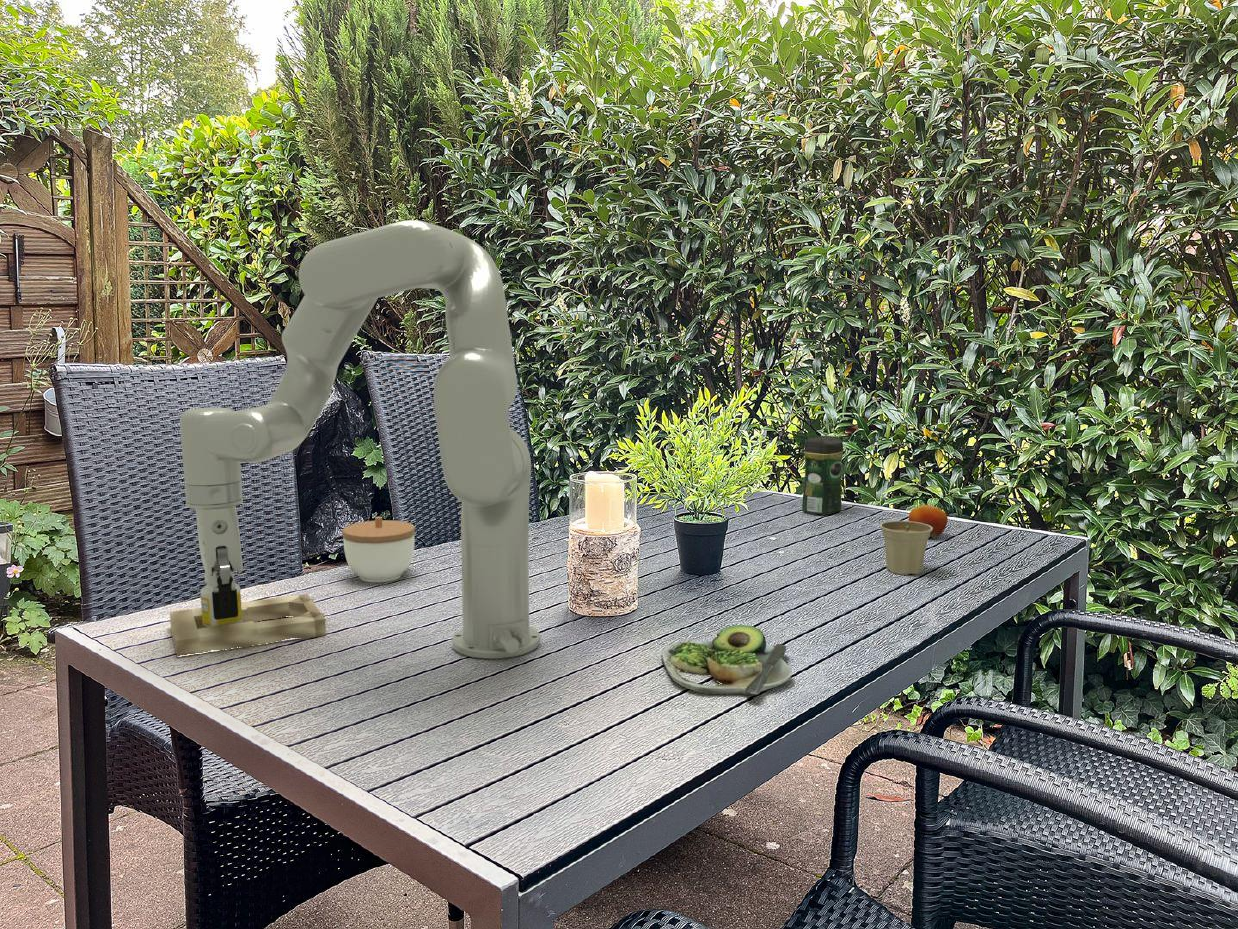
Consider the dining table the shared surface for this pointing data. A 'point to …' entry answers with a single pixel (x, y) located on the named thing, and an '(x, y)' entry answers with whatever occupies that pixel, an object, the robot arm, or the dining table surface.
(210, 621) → the supplement bottle
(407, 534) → the lidded bowl
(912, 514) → the fruit
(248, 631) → the beige flat rectangular frame
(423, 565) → the dining table surface
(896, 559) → the flower pot
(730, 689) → the avocado toast plate
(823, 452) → the coffee jar
